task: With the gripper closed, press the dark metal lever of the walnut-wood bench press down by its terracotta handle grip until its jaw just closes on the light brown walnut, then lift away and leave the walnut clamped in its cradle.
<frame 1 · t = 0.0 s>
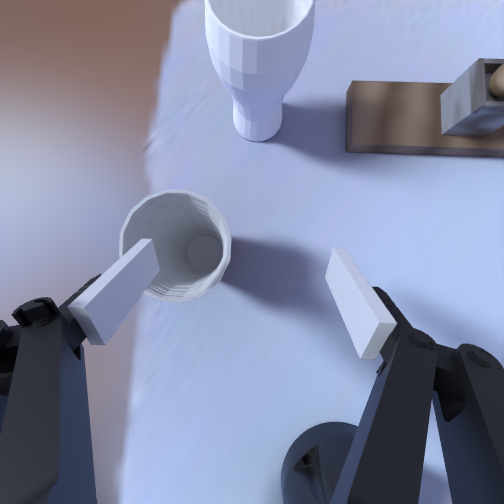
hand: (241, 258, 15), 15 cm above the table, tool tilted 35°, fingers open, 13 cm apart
cup: (257, 119, 32), on the table
plastic cup: (205, 254, 31), on the table
press base: (430, 124, 32), on the table
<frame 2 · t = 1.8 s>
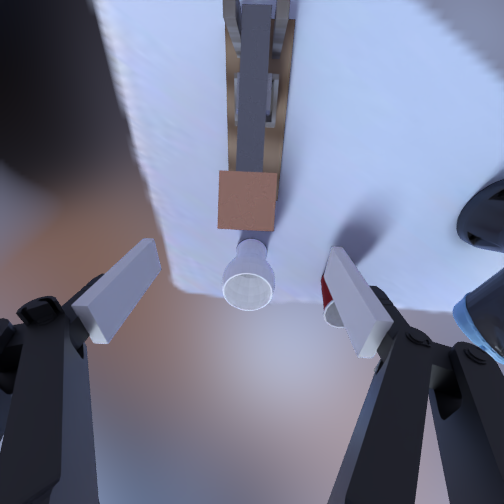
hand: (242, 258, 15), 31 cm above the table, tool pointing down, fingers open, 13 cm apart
cup: (251, 251, 51), on the table
plastic cup: (332, 278, 54), on the table
lever: (251, 126, 23), point 17 cm above the table, hinge at -25.0°
press base: (256, 126, 37), on the table
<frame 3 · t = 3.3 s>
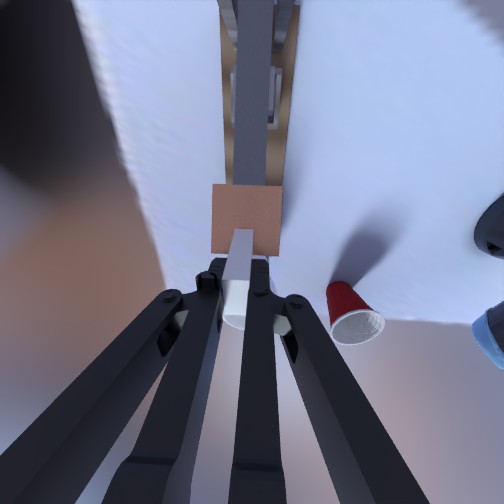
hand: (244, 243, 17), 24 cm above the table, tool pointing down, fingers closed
cup: (251, 262, 48), on the table
plastic cup: (338, 289, 51), on the table
lever: (251, 130, 19), point 17 cm above the table, hinge at -25.0°, touching gripper
press base: (255, 127, 33), on the table
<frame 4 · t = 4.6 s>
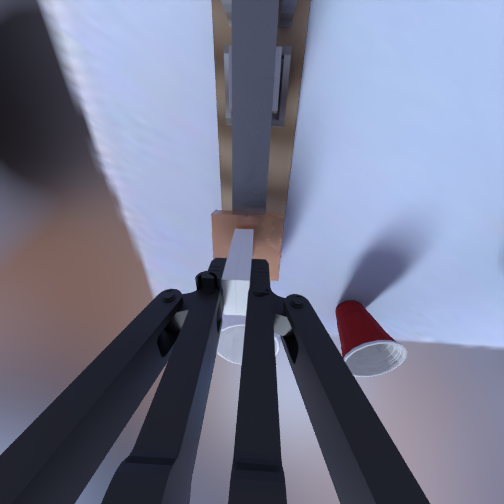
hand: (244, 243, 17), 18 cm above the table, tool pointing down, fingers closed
cup: (251, 279, 42), on the table
plastic cup: (349, 309, 45), on the table
lever: (251, 142, 17), point 14 cm above the table, hinge at -8.1°, touching gripper
press base: (256, 125, 28), on the table
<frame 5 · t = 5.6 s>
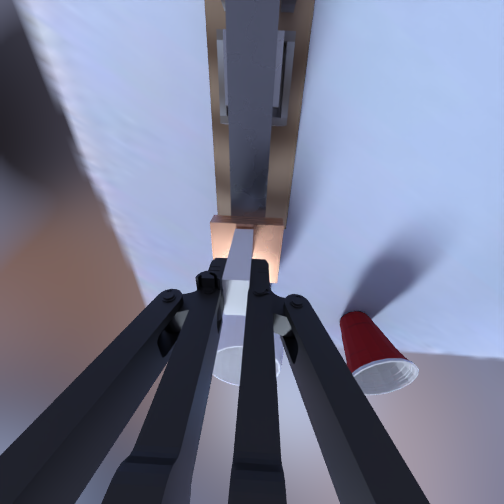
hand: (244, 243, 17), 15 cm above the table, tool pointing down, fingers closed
cup: (250, 288, 39), on the table
plastic cup: (354, 319, 42), on the table
lever: (250, 145, 15), point 12 cm above the table, hinge at 0.5°, touching gripper, walnut
press base: (255, 124, 25), on the table
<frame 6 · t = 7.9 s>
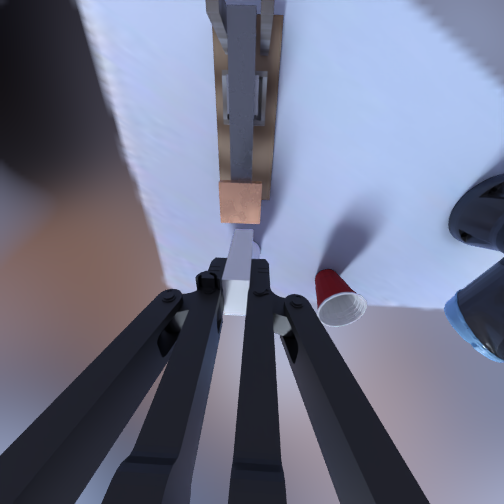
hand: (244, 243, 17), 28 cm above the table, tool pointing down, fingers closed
plastic cup: (326, 277, 54), on the table
lever: (241, 136, 27), point 12 cm above the table, hinge at 0.5°, touching walnut
press base: (246, 124, 37), on the table
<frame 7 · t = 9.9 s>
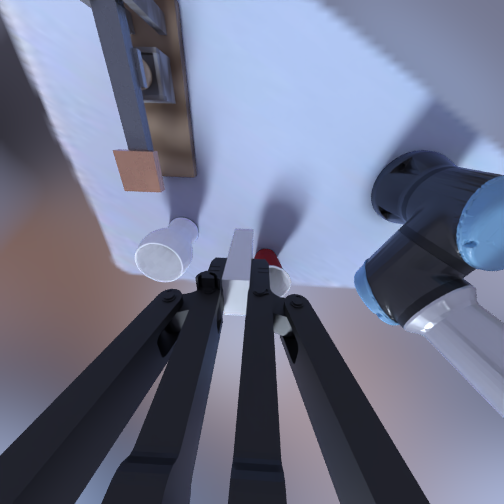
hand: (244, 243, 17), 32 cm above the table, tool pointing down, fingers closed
cup: (184, 230, 53), on the table
plastic cup: (266, 257, 56), on the table
lever: (130, 107, 29), point 12 cm above the table, hinge at 0.5°, touching walnut
press base: (163, 103, 39), on the table
walnut: (137, 73, 31), point 8 cm above the table, touching lever, press base
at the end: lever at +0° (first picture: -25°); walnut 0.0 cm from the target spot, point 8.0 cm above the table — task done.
